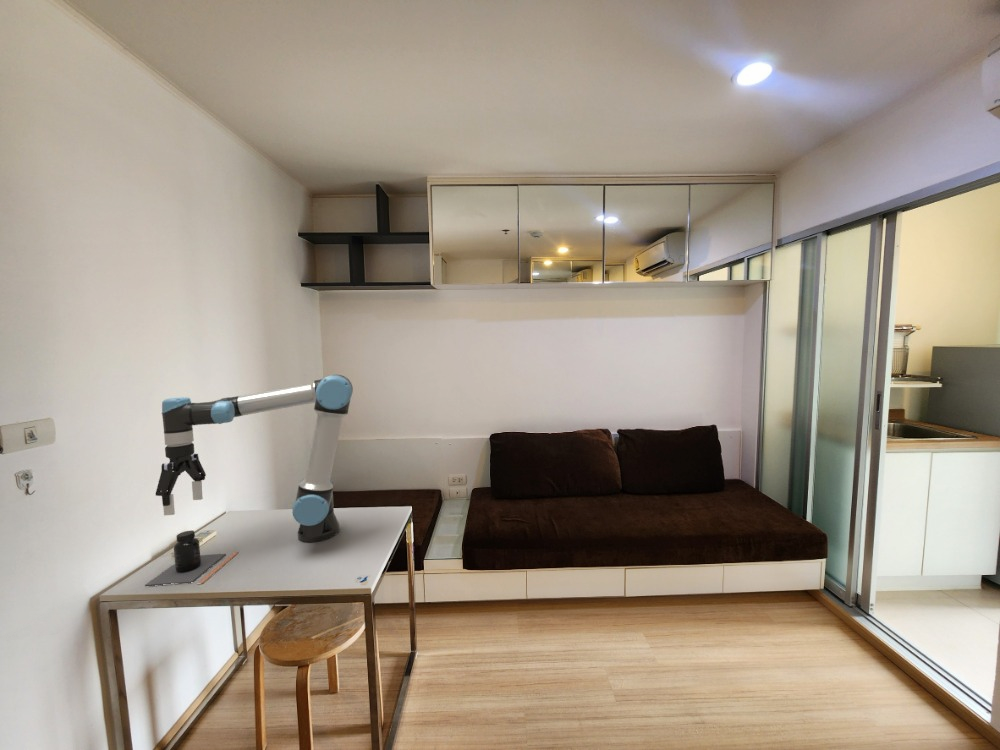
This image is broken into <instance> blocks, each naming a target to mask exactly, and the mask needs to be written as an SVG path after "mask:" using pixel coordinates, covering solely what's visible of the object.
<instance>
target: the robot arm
mask: <svg viewBox="0 0 1000 750" xmlns="http://www.w3.org/2000/svg"><path fill="white" fill-rule="evenodd" d="M353 387H354V386H353V384H352V382H351V380H350V379H349V378H348V377H346V376H345V375H341V374H332V375H329V376H326V377H324V378H322V379H321V378H320V379H316V380H312V382H311V383H308V384H302V385H296V386H290V387H284V388H279V389H272V390H267V391H260V392H255V393H249V394H244V395H243V394H242V395H237V396H231V397H230V396H229V397H222V398H220V399H217V400H212V401H205V402H192V400H191V398H190V397H187V396H186V397H170V398H165V399H163V401H162V403H161V415H162V426H163V436H164V445H165V447H164V451H165V457H166V459H169V462H166V463H162V464H161V472H160V476H159V479H158V484H157V487H156V490H155V496H156V497H161V499H162V500H161V502H162V507H163V516H173V515H175V513H176V512H175V500H174V493H172V492H173V490H174V487H175V485H176V484H177V480H178V478H179V476H181V474H182V473H184V472H186V474H187V475H188V476H189V477H190V478H191V479H192V480H193V481H191V489H192V491H191V492H192V500H193V501H201V500H203V498H204V497H203V485H202V484H203V482H202V481H205V480H206V476H207V474H206V471H205V469H204V468H203V465H202V463H201V461H200V458H199V457H200V456H199V453H195V444H194V443H193V442H194V439H195V438H194V428H193V426H201V425H216V424H218V425H222V424H227V423H231V422H233V421H234V418H238V417H243V416H248V415H252V414H259V413H265V412H270V411H271V412H272V411H275V410H276V411H277V410H282V409H286V408H287V409H288V408H292V407H297V406H304V405H309V404H314V409H313V410H314V412H315V413H316V420H315V425H314V431H313V436H312V440H311V445H310V446H311V447H310V450H309V456H308V460H307V465H306V470H305V475H304V478H302V479H301V480H300V481H299V483H298V487H297V492H296V497H295V501H294V502H293V503H294V504H292V505H293V506H292V511H291V512H292V516H293V519H294V520H295V521H296V522H297V523H299V526H298V530H297V539H298V541H300V542H302V541H304V542H303V543H316V541H317V542H322V541H324V539H325V540H328V539H330V537H331V538H333V537H334V536H336V535H337V534H338V533H339V532H340V524H339V521H338V519H337V517H336V516H337V515H335V511H334V494H333V489H334V485H333V484H334V481H333V478H332V473H333V467H334V462H335V456H336V452H337V447H338V441H339V437H340V433H341V432H340V431H341V426H342V421H343V418H345V417H346V416H347V415H348V414H349V410H350V409H349V408H350V403H351V398H352V395H353V391H354V390H353ZM338 531H339V532H338ZM336 533H337V534H336ZM335 534H336V535H335ZM332 536H333V537H332ZM327 538H328V539H327ZM321 540H322V541H321Z"/></svg>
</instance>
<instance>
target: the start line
mask: <svg viewBox="0 0 1000 750" xmlns="http://www.w3.org/2000/svg"><path fill="white" fill-rule="evenodd" d="M238 554H239V551H236V552H235V551H233V552H232V553H231V554H230V555H229V556H228V557H226V558H225V559H224V560H223V561H222V562H221V563H220V564H218V565H217V566H216V567H215V568H214V569H212V570H211V571H210V572H209V573H208V574H207V575H205V576H204V577H203V578H201V580H199V581H198V582H197V583H203V584H205V583H206V582H207V581H208V580H209V579H210V578H211V576H212V575H213V574H214V573H215V574H216V573H218V571H220V570H221V569H222V568H223V567H224V566H225V565H227V564H228V563H229V562H230V561H232V559H234V558H235V557H236V556H238ZM226 563H227V564H226ZM221 567H222V568H221ZM220 568H221V569H220ZM219 569H220V570H219ZM215 574H214V575H215ZM214 575H213V576H214ZM213 576H212V577H213ZM208 578H209V579H208ZM207 579H208V580H207ZM206 580H207V581H206ZM205 581H206V582H205ZM204 582H205V583H204Z"/></svg>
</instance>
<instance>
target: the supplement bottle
mask: <svg viewBox="0 0 1000 750" xmlns="http://www.w3.org/2000/svg"><path fill="white" fill-rule="evenodd" d="M175 538H176V543H175V544H174V546H173V557H174V558H173V559H174V564H175V568H176V571H177V572H178V573H184V572H188V571H192V570H194V569H196V568H198V567H199V566H200V564H201V556H200V555H201V546H200V540H199V539H198V538H197V537H196V534H195V531H194V530H185V531H182V532H180V533H178V534H176V537H175Z"/></svg>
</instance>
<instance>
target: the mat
mask: <svg viewBox="0 0 1000 750" xmlns="http://www.w3.org/2000/svg"><path fill="white" fill-rule="evenodd" d="M200 556H201V564H200V566H199V567H198V568H196V569H194V570H192V571H188V572H184V573H178V572H177V571H176V568H175V563H173V564H172V565H170V567H168V568H167V569H165V570H164V571H162V572H161V573H159V574H158V575H156V576H155V577H154V578H152V579H151V580H149V581H148V582H147V583H145V584H144V587H145V586H149V587H156V586H155V585H162V586H164V585H163V584H171V583H188V584H192V583H191V582H193V583H194V582H196V579H197V578H198V579H199V578H200V577H202V576H203V575H204V574H205V573H206V572H208V571H209V570H210V569H211V568H212V567H213V565H214V566H215V565H216V564H217V563H219V562H220V561H221V560H222V559H224V558H225V557H226V556H227V554H226V553H216V554H215V553H214V554H213V553H212V554H202V555H201V554H200ZM209 568H210V569H209ZM208 569H209V570H208ZM207 570H208V571H207ZM202 574H203V575H202ZM201 575H202V576H201ZM198 579H197V580H198Z"/></svg>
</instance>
